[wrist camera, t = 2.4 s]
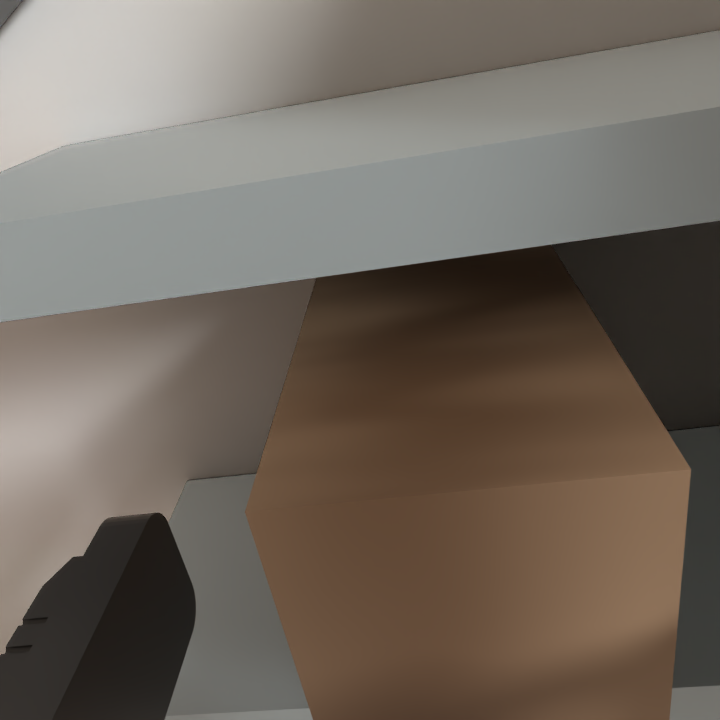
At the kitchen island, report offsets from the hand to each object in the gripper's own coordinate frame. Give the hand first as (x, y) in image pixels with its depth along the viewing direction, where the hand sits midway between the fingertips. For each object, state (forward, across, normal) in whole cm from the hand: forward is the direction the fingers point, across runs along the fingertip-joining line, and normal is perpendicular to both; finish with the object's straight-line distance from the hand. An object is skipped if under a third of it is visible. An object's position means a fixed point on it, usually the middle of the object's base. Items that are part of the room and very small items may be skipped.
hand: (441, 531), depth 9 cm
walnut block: (+7, 0, 0) cm, 7 cm away
